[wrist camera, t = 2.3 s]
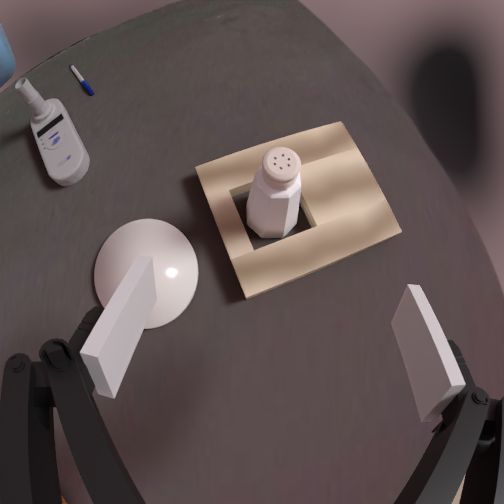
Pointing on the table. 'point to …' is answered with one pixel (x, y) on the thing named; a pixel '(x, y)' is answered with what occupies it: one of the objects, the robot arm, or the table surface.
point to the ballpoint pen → (82, 80)
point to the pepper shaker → (275, 194)
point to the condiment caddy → (312, 202)
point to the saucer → (164, 263)
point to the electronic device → (55, 137)
